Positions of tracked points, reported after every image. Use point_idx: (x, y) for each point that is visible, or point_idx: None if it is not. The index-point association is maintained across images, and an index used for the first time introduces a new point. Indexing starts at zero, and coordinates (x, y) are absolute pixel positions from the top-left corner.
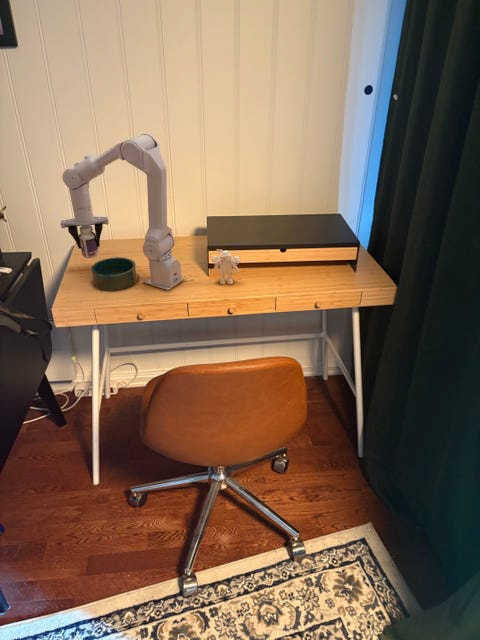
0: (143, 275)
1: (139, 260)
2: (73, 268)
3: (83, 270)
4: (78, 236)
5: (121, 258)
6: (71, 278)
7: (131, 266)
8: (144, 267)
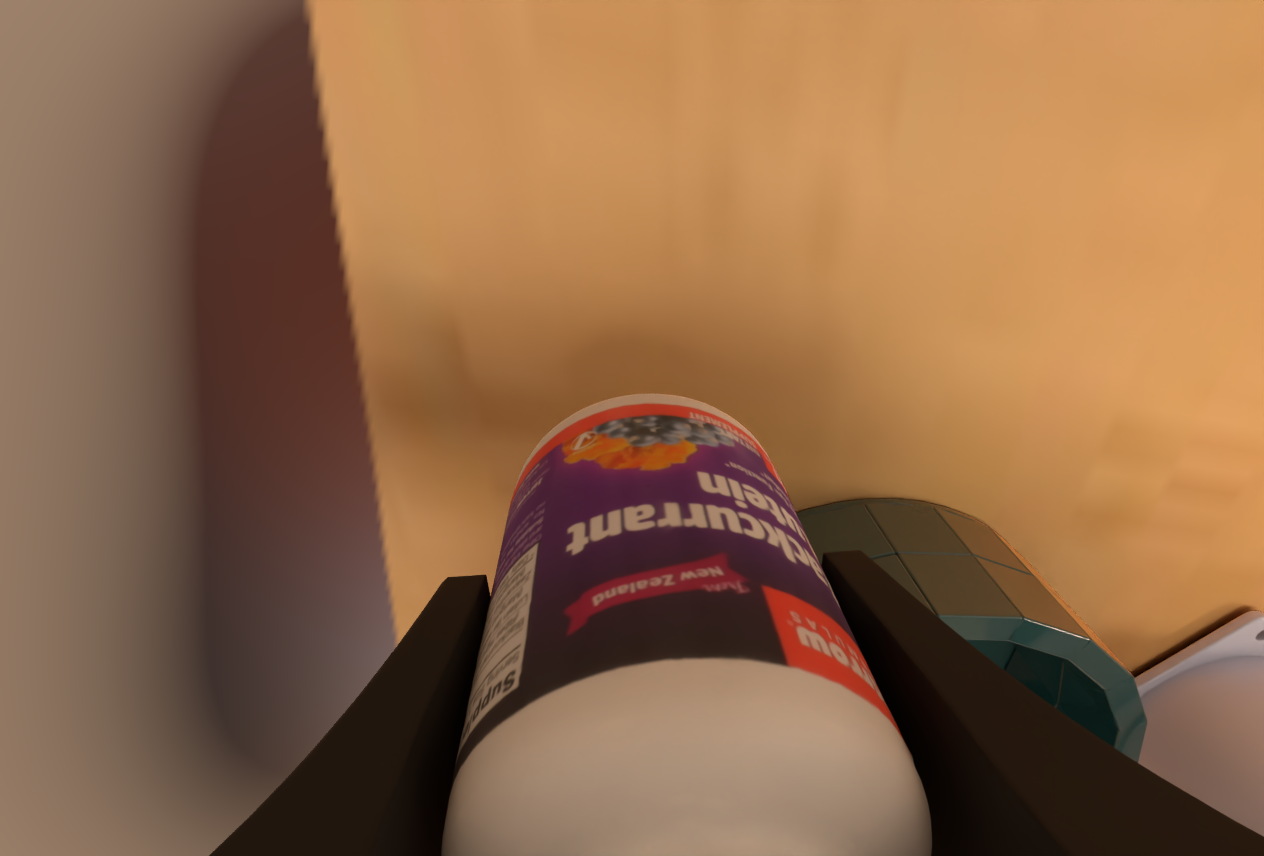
0: (1097, 607)
1: (1218, 268)
2: (377, 349)
3: (516, 422)
4: (421, 791)
5: (1041, 649)
6: (420, 572)
7: (1070, 668)
8: (1181, 461)
